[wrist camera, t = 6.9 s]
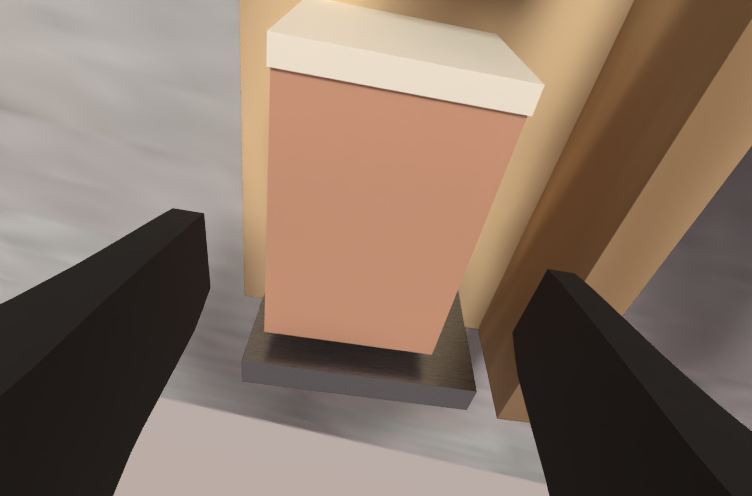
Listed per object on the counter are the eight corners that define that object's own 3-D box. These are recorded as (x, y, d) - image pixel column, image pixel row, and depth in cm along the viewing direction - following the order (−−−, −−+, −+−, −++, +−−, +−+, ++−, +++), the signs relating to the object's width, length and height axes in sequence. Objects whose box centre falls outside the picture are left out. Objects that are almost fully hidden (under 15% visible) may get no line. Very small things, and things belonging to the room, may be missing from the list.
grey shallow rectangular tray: (456, 280, 17) (476, 391, 13) (439, 323, 18) (453, 434, 14) (278, 253, 16) (241, 360, 12) (276, 299, 18) (243, 408, 14)
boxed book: (497, 34, 11) (544, 85, 8) (424, 262, 16) (434, 357, 13) (307, -5, 11) (266, 30, 7) (291, 241, 16) (261, 334, 12)
